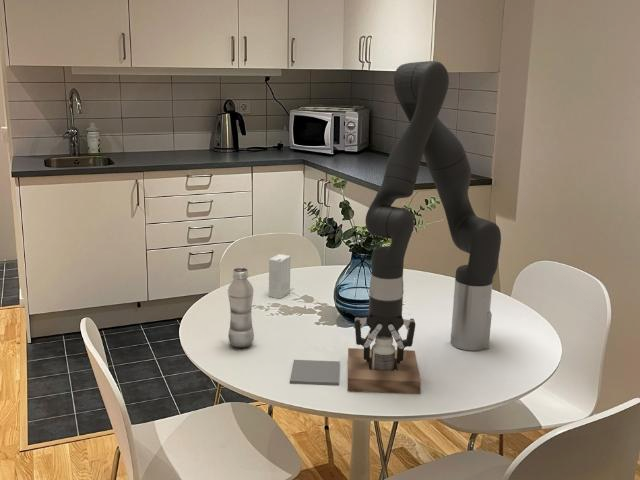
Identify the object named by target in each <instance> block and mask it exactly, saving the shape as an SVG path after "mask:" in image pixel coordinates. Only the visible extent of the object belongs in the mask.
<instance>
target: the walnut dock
mask: <svg viewBox="0 0 640 480" xmlns="http://www.w3.org/2000/svg"><path fill="white" fill-rule="evenodd" d="M347 349H348V351H347V392H365V393H367V392H368V393H391V394H393V393H394V394H418V395H419V394H421V386H422V385H421V384H422V383H421V382H422V380H421V375H420V369H419V365H418V360H417V355H416V351H415V350H410V349H409V350H406V349H404V355H403V361H400V363H397V349H395V365H394V371H387V370H371V356H372V348H370V362H366V360H364V348H359V347H358V348H355V347H353V348H352V347H351V348H350V347H347Z"/></svg>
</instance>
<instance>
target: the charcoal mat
mask: <svg viewBox="0 0 640 480" xmlns="http://www.w3.org/2000/svg"><path fill="white" fill-rule="evenodd" d="M340 364H341V363H340V361H339V360H338V361H337V360H335V361H334V360H314V359H313V360H312V359H309V360H308V359H293V362H292V366H291V367H292V368H291V373H290V374H291V375H290V378H289V379H290V380H289V384H294V385H295V384H299V385H301V384H302V385H303V384H304V385H322V386H323V385H324V386H326V385H328V386H339V385H340Z"/></svg>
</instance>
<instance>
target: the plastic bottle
mask: <svg viewBox="0 0 640 480" xmlns="http://www.w3.org/2000/svg"><path fill="white" fill-rule="evenodd" d="M232 278H233V280H232V281H231V283H230V285H228V289H227V296H228V302H229V310H230V312H229V313H230V314H229V315H230V321H229V329H228V342H229V343H230V345H231V346H232V347H235V348H248V347H249V346H251V345H252V344H253V342H254V338H255V332H254V327H253V320H252V319H253V317H252V311H253V310H252V305H253V298H254V287H253V284H251V282H250V281H249V279H248V278H249V270H248V268H245V267H237V268H233V271H232Z"/></svg>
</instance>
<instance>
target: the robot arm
mask: <svg viewBox="0 0 640 480" xmlns="http://www.w3.org/2000/svg"><path fill="white" fill-rule="evenodd" d="M449 79H450V77H449V73H448V69H447V68H446V66H445V65H444V64H443V63H442V62H439V61H437V60H432V61H431V60H428V61H427V60H425V61H415V62H407V63H404V64H400V65H399V66H398V67H397V68H396V70H395V71H394V75H393V88H394V93H395V96H396V99H397V101H398V103H399V104H400V106H401V108H402V110H403V112H404V114H405V117H406V118H407V120H408V122H409V124H408V125H407V127H406V129H405V130H404V132H403V133H402V134H401V136H400V137H399V139H398V140H397V142H396V143H395V144H394V146H393V147H392V149H391V152H390V153H389V156H388V158H387V162H386V167H385V171H384V175H383V179H382V183H381V185H380V187H379V188H378V191H377V193H376V195H375V197H374V199H373V200H372V202H371V204H370V206H369V208H368V209H367V212H366V215H365V222H364V223H365V228H366V230H367V232H368V233H369V234H370V235H371V236H374V237H379V238H385V239H390V240H391V243H390V245H388V246H387V245H385V246H378V247H376V248H375V249H374V250H373V251H372V255H371V274H370V280H369V289H368V290H369V291H368V294H369V296H368V315H367V316H366V317H359V316H356V317H354V330H355V331H354V333H355V344H356V345H358V346H362V348H363V349H364V360H366V362H370V349H371V344H372V343H373V341H375V338H376V336H378V337H382V336H386V337H391V336H392V337H393V340H394V342H395V343H396V345H397V346H396V350H397V363H400V361H403V355H404V350H405V348H408V347H412V346H413V341H414V338H415V337H414V336H415V330H416V322H415V319H414V318H410V319H405V318H403V301H404V300H403V299H404V292H405V290H404V265H405V264H404V262H405V260H404V259H405V255H406V253H407V249H408V246H409V243H410V239H411V237H412V235H413V232H414V229H415V228H414V227H415V219H414V216H413V214H412V213H411V211H410V210H409V209H406V208H403V207H397V206H392V205H393V204H394V202H395V201H396V200H399V199H407V198H410V197H411V196H413V194H414V190H415V187H416V183H417V178H418V173H419V170H420V165H421V161H422V160H423V159H422V158H423V156H424V160H425V162H426V163H425V164H426V167H427V168H428V170H429V173H430V176H431V179H432V181H433V183H434V185H435V188H436V191H437V193H438V196H439V199H440V202H441V204H442V206H443V210H444V212H445V218H446V221H447V224H448V230H449V233H450V236H451V239H452V242H453V244H454V245H455V246H456V248H457V249H459V250H460V251H462V252H465V253H467V254H469V257H468V263H467V264H462V265H459V266H458V267H457V268H456V269H455V276H454V277H455V278H454V289H453V291H454V292H453V306H452V315H451V316H452V317H451V330H450V331H451V332H450V344H451V345H452V346H453V347H455V348H458V349H460V350H464V351H481V350H484V349H486V350H487V349H489V348H490V336H491V326H492V314H493V313H492V312H491V303H492V293H493V281H494V276H495V275H496V272H497V269H498V265H499V259H500V258H499V257H500V252H501V245H502V233H501V229H500V227H499V226H498V225H497V223H495V222H493V221H491V220H488V219H485V218H483V217H479V216H477V215H476V213H475V211H474V209H473V207H472V204H471V201H470V198H469V188H470V184H471V179H472V169H471V165H470V162H469V159H468V157H467V156H468V155H467V153H466V151H465V149H464V148H465V147H464V146H463V144H462V143H461V141H460V140H459V139H458V137H457V136H456V135H455V134H454V133H453V132H452V130H450V129H449V128H448V127H447V126H446V125H445V124H444V123H443V122H442V120H441V119H440V118H439V114H440V112H441V109H442V106H443V105H444V102H445V99H446V96H447V94H448V93H447V92H448V90H449V86H450V85H449V84H450V83H449V82H450V80H449ZM365 324H366V325H367V327H369V330H368V332H367V335H366V336H365V338H364V337H362V330H361V329H363V328H364V327H365ZM403 326H405V329H406V330H407V333H406V339H402V336H401V334H400V332H399V330H400V329H401V328H402V327H403Z"/></svg>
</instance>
